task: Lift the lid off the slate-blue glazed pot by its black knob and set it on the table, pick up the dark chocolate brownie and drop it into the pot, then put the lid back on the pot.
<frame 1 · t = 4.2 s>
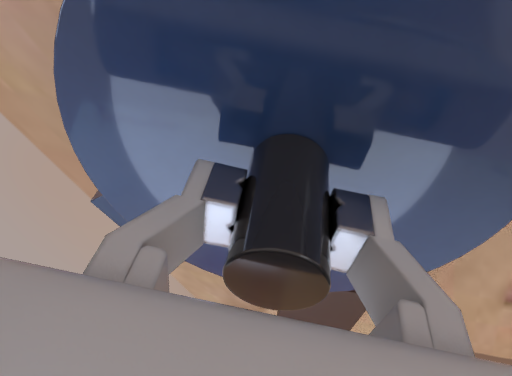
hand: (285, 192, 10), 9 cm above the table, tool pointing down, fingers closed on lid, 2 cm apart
pot: (300, 65, 17), on the table
lid: (290, 156, 12), point 8 cm above the table, touching gripper, pot
brownie: (322, 255, 27), on the table
when the fingers open (2 cm above the table, at t = 12.6 s): lid stays where it is, point 1 cm above the table.
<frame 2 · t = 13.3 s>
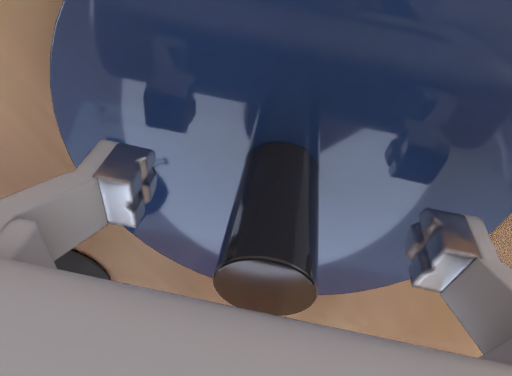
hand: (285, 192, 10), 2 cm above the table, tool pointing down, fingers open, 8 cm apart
sundae: (72, 267, 21), on the table
lid: (282, 163, 12), point 1 cm above the table
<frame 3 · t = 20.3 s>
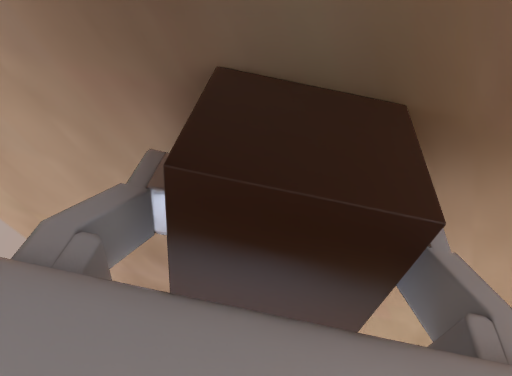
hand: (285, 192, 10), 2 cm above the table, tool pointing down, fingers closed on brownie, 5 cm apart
brownie: (290, 159, 12), on the table, touching gripper
when the fingers open (7 cm above the table, at t = 27.5 s): brownie drops 4 cm, resting on pot.
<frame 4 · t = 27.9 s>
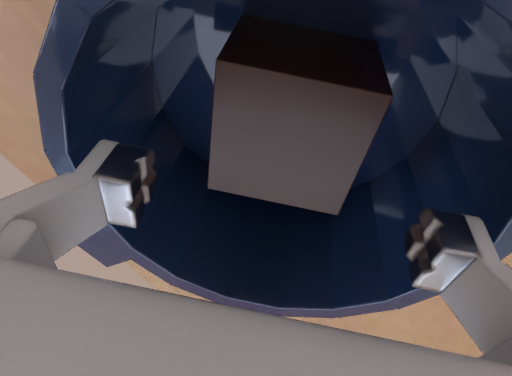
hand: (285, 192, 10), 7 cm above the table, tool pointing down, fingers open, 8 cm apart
pot: (295, 85, 16), on the table
brownie: (293, 90, 16), point 1 cm above the table, touching pot
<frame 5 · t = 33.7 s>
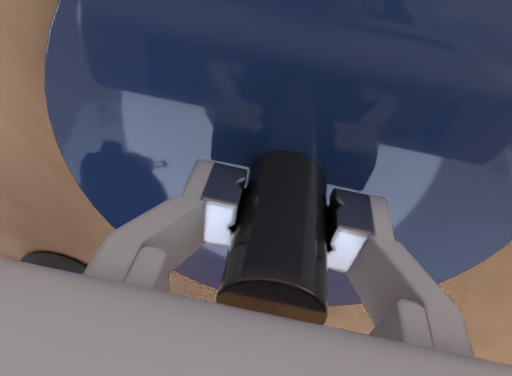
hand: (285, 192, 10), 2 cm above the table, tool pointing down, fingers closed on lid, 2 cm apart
sundae: (68, 274, 20), on the table
lid: (287, 172, 12), point 1 cm above the table, touching gripper
when the fingers open (9 cm above the table, at t = 42.9 s): lid stays where it is, resting on pot.
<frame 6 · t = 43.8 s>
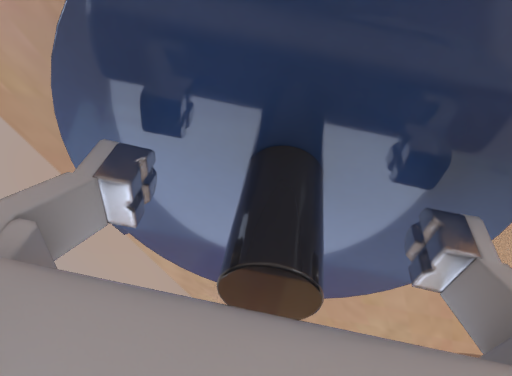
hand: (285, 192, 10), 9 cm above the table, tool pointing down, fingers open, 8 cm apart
lid: (285, 166, 12), point 7 cm above the table, touching pot
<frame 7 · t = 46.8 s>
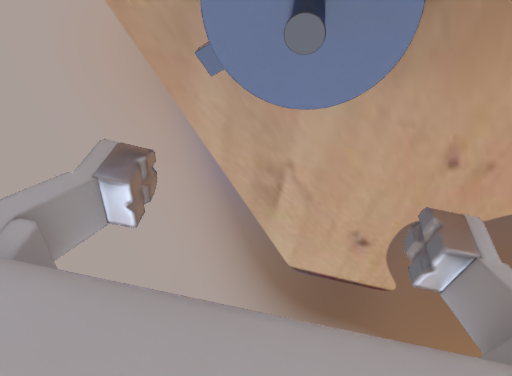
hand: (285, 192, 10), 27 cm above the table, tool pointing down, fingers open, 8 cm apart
lid: (307, 10, 25), point 7 cm above the table, touching pot
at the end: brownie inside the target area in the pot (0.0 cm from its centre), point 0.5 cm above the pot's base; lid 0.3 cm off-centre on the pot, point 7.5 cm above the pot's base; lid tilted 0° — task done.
